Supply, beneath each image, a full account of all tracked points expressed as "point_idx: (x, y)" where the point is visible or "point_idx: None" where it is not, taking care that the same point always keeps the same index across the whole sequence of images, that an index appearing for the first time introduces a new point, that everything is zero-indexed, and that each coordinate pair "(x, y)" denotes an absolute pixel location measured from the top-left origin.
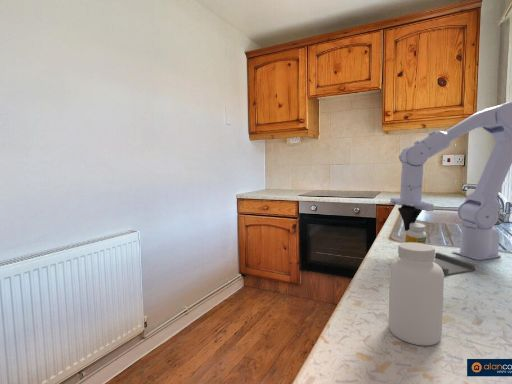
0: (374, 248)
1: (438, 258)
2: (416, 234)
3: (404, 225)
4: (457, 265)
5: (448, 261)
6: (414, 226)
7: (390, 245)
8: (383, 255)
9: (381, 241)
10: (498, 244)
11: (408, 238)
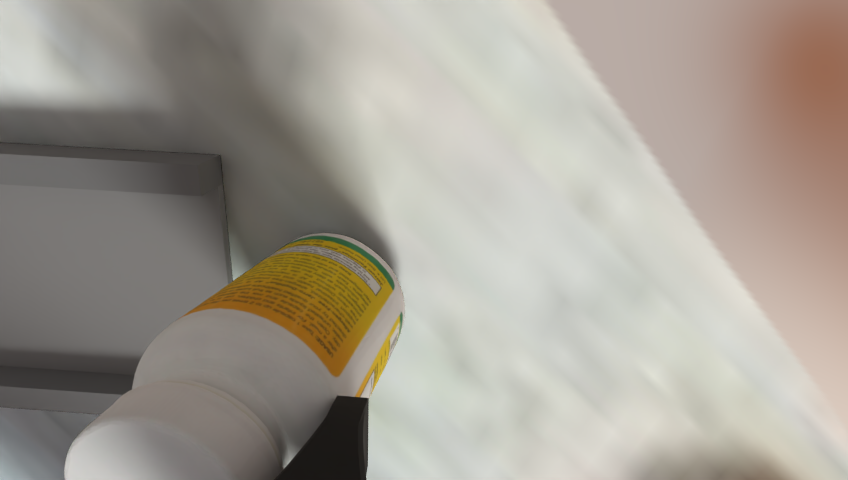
0: (646, 155)
1: None
2: (152, 360)
3: (353, 438)
4: (51, 355)
5: (131, 374)
6: (109, 422)
7: (632, 347)
8: (439, 70)
9: (766, 371)
10: None
11: (254, 293)
